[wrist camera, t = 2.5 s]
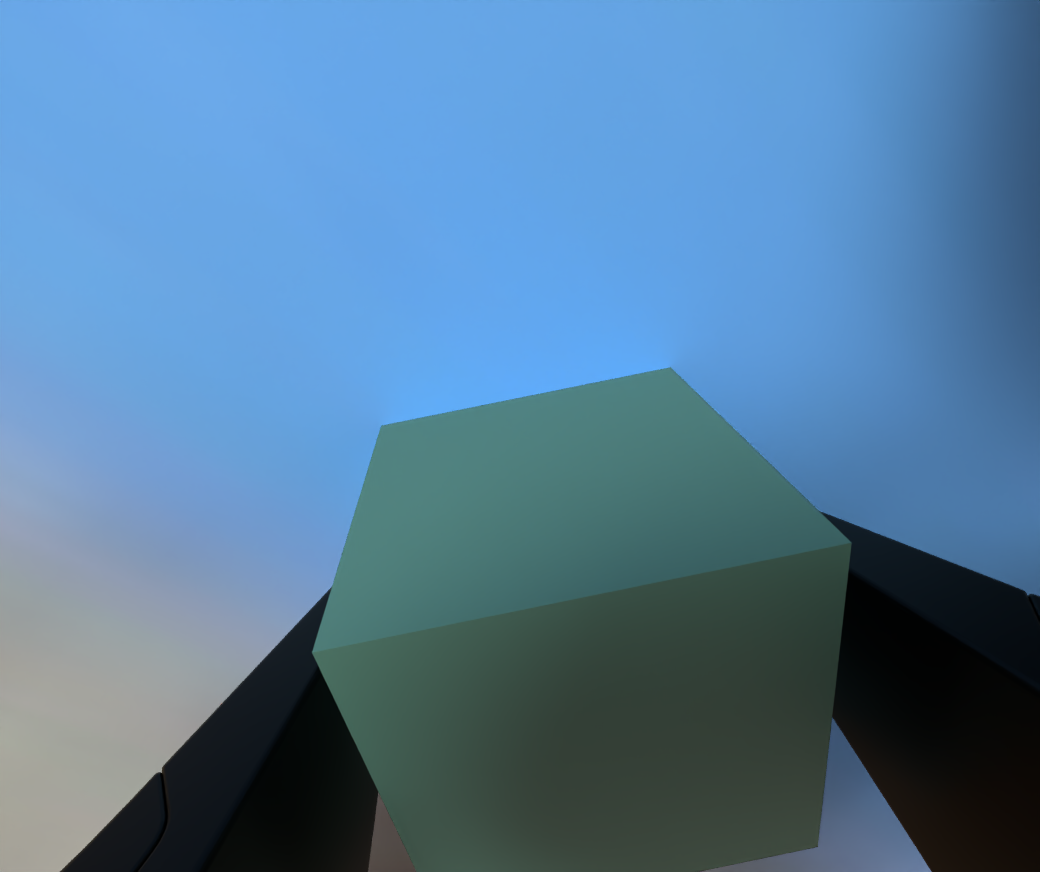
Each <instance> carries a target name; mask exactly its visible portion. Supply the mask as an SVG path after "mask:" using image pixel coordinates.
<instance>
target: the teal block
mask: <svg viewBox="0 0 1040 872" xmlns="http://www.w3.org/2000/svg"><path fill="white" fill-rule="evenodd" d="M850 552H851V542H850V541H849V540H848V539H847V538H846V537H845V536H844V535H843V534H842V533H841V532H840V531H839V530H838V529H837V528H836V527H835V526H834V525H833V524H832V523H831V522H830V521H829V520H828V519H827V518H826V517H825V516H823V515H822V514H821V513H820V512H819V511H818V510H817V509H816V508H815V507H814V506H813V505H812V504H811V503H810V502H809V501H808V500H807V499H806V498H805V497H804V496H803V495H802V494H801V493H800V492H799V491H798V490H797V489H796V488H795V487H794V486H793V485H792V484H790V483H789V482H788V481H787V480H786V479H785V478H784V477H783V476H782V475H781V474H780V473H779V472H778V471H777V470H776V469H775V468H774V467H773V466H772V465H771V464H770V463H769V462H768V461H767V460H766V459H765V458H764V457H763V456H762V455H761V454H760V453H758V452H757V451H756V450H755V449H754V448H753V447H752V446H751V445H750V444H749V443H748V442H747V441H746V440H745V439H744V438H743V437H742V436H741V435H740V434H739V433H738V432H737V431H736V430H735V429H734V428H733V427H732V426H731V425H730V424H729V423H728V422H726V421H725V420H724V419H723V418H722V417H721V416H720V415H719V414H718V413H717V412H716V411H715V410H714V409H713V408H712V407H711V406H710V405H709V404H708V403H707V402H706V401H705V400H704V399H703V398H702V397H701V396H700V395H699V394H698V393H697V392H696V391H694V390H693V389H692V388H691V387H690V386H689V385H688V384H687V383H686V382H685V381H684V380H683V379H682V378H681V377H680V376H679V375H678V374H677V373H676V372H675V371H674V370H673V369H672V368H671V367H670V368H665V369H660V370H655V371H650V372H645V373H640V374H635V375H630V376H625V377H620V378H615V379H610V380H605V381H600V382H595V383H590V384H585V385H581V386H576V387H571V388H566V389H561V390H556V391H551V392H546V393H541V394H536V395H531V396H526V397H521V398H516V399H511V400H506V401H501V402H496V403H491V404H486V405H481V406H476V407H472V408H467V409H462V410H457V411H452V412H447V413H442V414H437V415H432V416H427V417H422V418H417V419H412V420H407V421H402V422H397V423H392V424H387V425H382V426H381V428H380V431H379V434H378V438H377V441H376V444H375V448H374V451H373V454H372V457H371V461H370V464H369V467H368V471H367V474H366V477H365V480H364V484H363V487H362V490H361V494H360V497H359V500H358V503H357V507H356V510H355V513H354V517H353V520H352V523H351V526H350V530H349V533H348V536H347V539H346V543H345V546H344V549H343V553H342V556H341V559H340V562H339V566H338V569H337V572H336V576H335V579H334V582H333V585H332V589H331V592H330V595H329V599H328V602H327V605H326V608H325V612H324V615H323V618H322V621H321V625H320V628H319V631H318V635H317V638H316V641H315V644H314V648H313V651H312V654H313V656H314V658H315V660H316V662H317V664H318V666H319V668H320V670H321V672H322V675H323V677H324V679H325V681H326V683H327V685H328V687H329V689H330V691H331V693H332V695H333V698H334V700H335V702H336V704H337V706H338V708H339V710H340V712H341V714H342V716H343V719H344V721H345V723H346V725H347V727H348V729H349V731H350V733H351V735H352V737H353V739H354V742H355V744H356V746H357V748H358V750H359V752H360V754H361V756H362V758H363V760H364V763H365V765H366V767H367V769H368V771H369V773H370V775H371V777H372V779H373V781H374V783H375V786H376V788H377V790H378V792H379V794H380V796H381V798H382V800H383V802H384V804H385V807H386V809H387V811H388V813H389V815H390V817H391V819H392V821H393V823H394V825H395V827H396V830H397V832H398V834H399V836H400V838H401V840H402V842H403V844H404V846H405V848H406V851H407V853H408V855H409V857H410V859H411V861H412V863H413V865H414V867H415V869H416V871H417V872H699V871H704V870H709V869H714V868H718V867H723V866H728V865H733V864H738V863H742V862H747V861H752V860H757V859H762V858H767V857H771V856H776V855H781V854H786V853H791V852H795V851H800V850H805V849H810V848H815V847H818V839H819V830H820V821H821V812H822V803H823V794H824V785H825V776H826V767H827V758H828V749H829V740H830V731H831V722H832V714H833V705H834V696H835V687H836V678H837V669H838V660H839V651H840V642H841V633H842V624H843V615H844V606H845V597H846V588H847V579H848V570H849V561H850Z"/></svg>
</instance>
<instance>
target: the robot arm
mask: <svg viewBox="0 0 1040 872" xmlns="http://www.w3.org/2000/svg"><path fill="white" fill-rule="evenodd" d="M819 512H820V511H819ZM820 513H821V514H822V515H823V516H825V517H826V518H827V519H828V520H829V521H830V522H831V523H832V524H833V525H834V526H835V527H836V528H837V529H838V530H839V531H840V532H841V533H842V534H843V535H844V536H845V537H846V538H847V539H848V540H849V541H850V542H851V552H850V561H849V570H848V579H847V588H846V597H845V606H844V615H843V624H842V633H841V642H840V651H839V660H838V669H837V678H836V687H835V696H834V705H833V714H832V717H833V719H834V720H835V722H836V723H837V725H838V726H839V728H840V730H841V731H842V733H843V734H844V736H845V737H846V739H847V740H848V742H849V744H850V745H851V747H852V748H853V750H854V751H855V753H856V754H857V756H858V758H859V759H860V761H861V762H862V764H863V765H864V767H865V768H866V770H867V772H868V773H869V775H870V776H871V778H872V779H873V781H874V782H875V784H876V786H877V787H878V789H879V790H880V792H881V793H882V795H883V796H884V798H885V800H886V801H887V803H888V804H889V806H890V807H891V809H892V811H893V812H894V814H895V815H896V817H897V818H898V820H899V821H900V823H901V825H902V826H903V828H904V829H905V831H906V832H907V834H908V835H909V837H910V839H911V840H912V842H913V843H914V845H915V846H916V848H917V849H918V851H919V853H920V854H921V856H922V857H923V859H924V860H925V862H926V863H927V865H928V867H929V868H930V870H931V871H932V872H1040V596H1037V595H1034V594H1030V595H1027V593H1026V592H1025V591H1024V590H1021V589H1019V588H1016V587H1014V586H1011V585H1008V584H1006V583H1003V582H1001V581H998V580H996V579H993V578H990V577H988V576H985V575H983V574H980V573H977V572H975V571H972V570H970V569H967V568H965V567H962V566H959V565H957V564H954V563H952V562H949V561H947V560H944V559H941V558H939V557H936V556H934V555H931V554H929V553H926V552H923V551H921V550H918V549H916V548H913V547H911V546H908V545H905V544H903V543H900V542H898V541H895V540H892V539H890V538H887V537H885V536H882V535H880V534H877V533H874V532H872V531H869V530H867V529H864V528H862V527H859V526H856V525H854V524H851V523H849V522H846V521H844V520H841V519H838V518H836V517H833V516H831V515H828V514H826V513H823V512H820ZM331 589H332V587H331V588H330V589H329V590H328V591H327V593H326V594H325V595H324V596H323V597H322V598H321V599H320V600H319V601H318V602H317V603H316V604H315V605H314V606H313V607H312V608H311V610H310V611H309V612H308V613H307V614H306V615H305V616H304V617H303V618H302V619H301V620H300V621H299V622H298V623H297V624H296V625H295V627H294V628H293V629H292V630H291V631H290V632H289V633H288V634H287V635H286V636H285V637H284V638H283V639H282V640H281V641H280V642H279V644H278V645H277V646H276V647H275V648H274V649H273V650H272V651H271V652H270V653H269V654H268V655H267V656H266V657H265V658H264V659H263V661H262V662H261V663H260V664H259V665H258V666H257V667H256V668H255V669H254V670H253V671H252V672H251V673H250V674H249V675H248V676H247V678H246V679H245V680H244V681H243V682H242V683H241V684H240V685H239V686H238V687H237V688H236V689H235V690H234V691H233V692H232V693H231V695H230V696H229V697H228V698H227V699H226V700H225V701H224V702H223V703H222V704H221V705H220V706H219V707H218V708H217V709H216V710H215V712H214V713H213V714H212V715H211V716H210V717H209V718H208V719H207V720H206V721H205V722H204V723H203V724H202V725H201V726H200V727H199V729H198V730H197V731H196V732H195V733H194V734H193V735H192V736H191V737H190V738H189V739H188V740H187V741H186V742H185V743H184V744H183V746H182V747H181V748H180V749H179V750H178V751H177V752H176V753H175V754H174V755H173V756H172V757H171V758H170V759H169V760H168V761H167V762H166V764H165V765H164V766H163V767H162V773H161V772H158V773H156V774H155V775H154V776H153V777H152V778H151V779H150V780H149V781H148V782H147V783H146V785H145V786H144V787H143V788H142V789H141V790H140V791H139V792H138V793H137V794H136V795H135V796H134V797H133V798H132V799H131V800H130V802H129V803H128V804H127V805H126V806H125V807H124V808H123V809H122V810H121V811H120V812H119V813H118V814H117V815H116V816H115V817H114V818H113V819H112V820H111V821H110V822H109V823H108V824H107V825H106V826H105V827H104V828H103V829H102V830H101V831H100V832H99V833H98V834H97V836H96V837H95V838H94V839H93V840H92V841H91V842H90V843H89V844H88V845H87V846H86V847H85V848H84V849H83V850H82V851H81V852H80V853H79V854H78V855H77V856H76V857H75V858H74V859H73V860H71V861H70V862H69V863H68V864H67V865H66V866H65V867H64V868H63V869H62V870H61V871H60V872H368V867H369V859H370V852H371V844H372V836H373V829H374V821H375V814H376V806H377V798H378V790H377V788H376V786H375V783H374V781H373V779H372V777H371V775H370V773H369V771H368V769H367V767H366V765H365V763H364V760H363V758H362V756H361V754H360V752H359V750H358V748H357V746H356V744H355V742H354V739H353V737H352V735H351V733H350V731H349V729H348V727H347V725H346V723H345V721H344V719H343V716H342V714H341V712H340V710H339V708H338V706H337V704H336V702H335V700H334V698H333V695H332V693H331V691H330V689H329V687H328V685H327V683H326V681H325V679H324V677H323V675H322V672H321V670H320V668H319V666H318V664H317V662H316V660H315V658H314V656H313V654H312V651H313V648H314V644H315V641H316V638H317V635H318V631H319V628H320V625H321V621H322V618H323V615H324V612H325V608H326V605H327V602H328V599H329V595H330V592H331Z"/></svg>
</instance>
